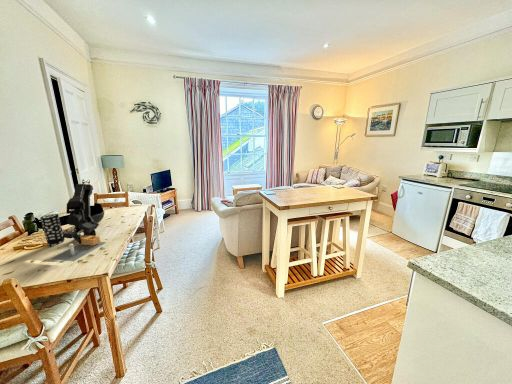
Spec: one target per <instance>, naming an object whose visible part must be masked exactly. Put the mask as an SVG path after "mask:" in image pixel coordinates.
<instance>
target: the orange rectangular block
mask: <svg viewBox="0 0 512 384" xmlns="http://www.w3.org/2000/svg"><path fill="white" fill-rule="evenodd" d="M80 238H81V244H83V245H96V244H97V243H99V242H101V239H100V236H99V235H95V236H90V235H84V234H81V236H80ZM76 243H77V245H78V244H79V243H78V242H77V241H76Z"/></svg>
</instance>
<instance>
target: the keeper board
mask: <svg viewBox="0 0 512 384" xmlns="http://www.w3.org/2000/svg"><path fill="white" fill-rule="evenodd" d="M105 244H107V241H100V242H99V243H97V244H96V245H83V244H77V245H74V244H73V243H69V245H68V247H69V248H68V249H67V250H65V251H63V252H61V253H59V254H57V255H55V256H53V257H50V260H60V261H67V262H68V261H69V262H75V261H77V260H79V259H80V258H82V257H83V256H86V255H87V254H89V253H91V252H93V251H94V250H96V249H98V248H99V247H101V246H104V245H105Z"/></svg>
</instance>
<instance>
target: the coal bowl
mask: <svg viewBox="0 0 512 384" xmlns="http://www.w3.org/2000/svg"><path fill="white" fill-rule="evenodd" d="M90 216H91V217H92V219H93V220H94V221H95V222H96V223H97V224H99V223H100V222H101V221H103V218H104V216H105V210H104V207H103V206H102V204H101V203H98V202H94V203H93V205H90Z"/></svg>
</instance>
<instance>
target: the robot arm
mask: <svg viewBox="0 0 512 384" xmlns="http://www.w3.org/2000/svg"><path fill="white" fill-rule="evenodd" d="M93 190H94V186H93V185H91V184H90V183H88V184H86V183H77V184H75V189H74V193H73V196H72V197H71V198H69V200H68V201H67V203H66V212H65V213H66V214H67V215H68V214H69V216H68V217H67V218H66V221H65V222H66V224H68V225H69V226H74V227H73V230H69V231H66V232H64V233H63V238H64V239H74V240H75V241H76V243H77V242H78V243H79V244H81V238H80V236H82V234H80V233H81V232H83V235H90V236H97V233H96V229H98V227H99V223H96V222H95V221H94V220H93V219H92V217H91V216H90V206H91V201H90V200H91V199H90V197H91V195H92V194H93Z"/></svg>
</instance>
